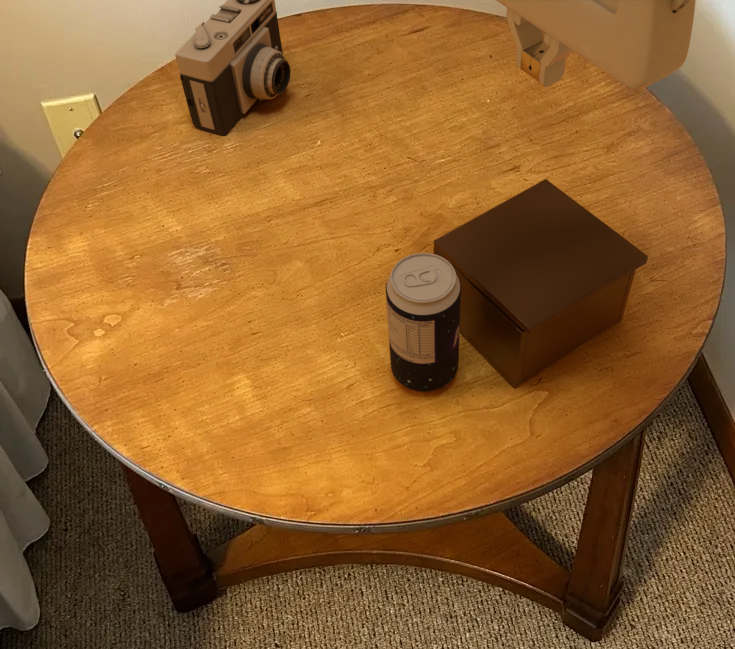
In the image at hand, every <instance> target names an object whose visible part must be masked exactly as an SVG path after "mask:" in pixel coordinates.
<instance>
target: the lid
mask: <svg viewBox="0 0 735 649" xmlns="http://www.w3.org/2000/svg"><path fill="white" fill-rule="evenodd" d="M434 248H435V249H436V250H437V251H438V252H439V253H440V254H441V255H443V256H444V257H445V258H446V259H447V260H448V261H449V262H450V263H451V264H452V265H453V266H454V267H456V268H457V269H458V270H459V271H460V272H461V273H462V274H463V275H464V276H465V277H466V278H467V279H469V280H470V281H471V282H472V283H473V284H474V285H475V286H476V287H477V288H478V289H479V290H480V291H482V292H483V293H484V294H485V295H486V296H487V297H488V298H489V299H490V300H491V301H492V302H493V303H495V304H496V305H497V306H498V307H499V308H500V309H501V310H502V311H503V312H504V313H505V314H506V315H508V316H509V317H510V318H511V319H512V320H513V321H514V322H515V323H516V324H517V325H518V326H519V327H521V328H522V329H523V330H524V331H525V332H526V333H527V334H528V335H529V336H530V335H532V334H533V333H535V332H536V331H538V330H540V329H541V328H543V327H544V326H546V325H548V324H549V323H551V322H552V321H554V320H556V319H557V318H559V317H560V316H562V315H564V314H565V313H567V312H569V311H570V310H572V309H573V308H575V307H577V306H578V305H580V304H581V303H583V302H585V301H586V300H588V299H589V298H591V297H593V296H594V295H596V294H597V293H599V292H601V291H602V290H604V289H605V288H607V287H609V286H610V285H612V284H614V283H615V282H617V281H618V280H620V279H622V278H623V277H625V276H626V275H628V274H630V273H631V272H633V271H634V270H635V271H636V270H638V269H639V268H641V267H642V266H644V265H646V264H647V263H648V258H649V255H647V254H646V253H644V251H642V250H641V249H639V248H638V247H637V246H635V245H634V244H632V243H631V242H630V241H628V240H627V239H626V238H625V237H624V236H622V235H621V234H620V233H618V232H617V231H616V230H614V229H613V228H612V227H610V226H609V225H607V224H606V223H605V222H604V221H602V220H601V219H600V218H599V217H597V216H596V215H595V214H593V213H592V212H590V211H589V210H588V209H586V208H585V207H584V206H582V205H581V204H580V203H579V202H577V201H576V200H574V199H573V198H572V197H570V195H569V194H567V193H565V192H564V191H563V190H561V189H560V188H559V187H557V186H556V185H554V183H552V182H551V181H549V179H547V178H545V179H543V180H541V181H539V182H537V183H536V184H534V185H532V186H530V187H528V188H526V189H524V190H523V191H521V192H519V193H518V194H515V195H513V196H512V197H510V198H508V199H506V200H505V201H502V202H500V203H499V204H498V205H496V206H494V207H492V208H490V209H488V210H486V211H485V212H483V213H481V214H479V215H478V216H476V217H474V218H472V219H470V220H468V221H466V222H465V223H463V224H461V225H459V226H458V227H456V228H454V229H452V230H450V231H449V232H447V233H445V234H443V235H441V236H440V237H438V238H436V239H434V240H433V249H434Z"/></svg>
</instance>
